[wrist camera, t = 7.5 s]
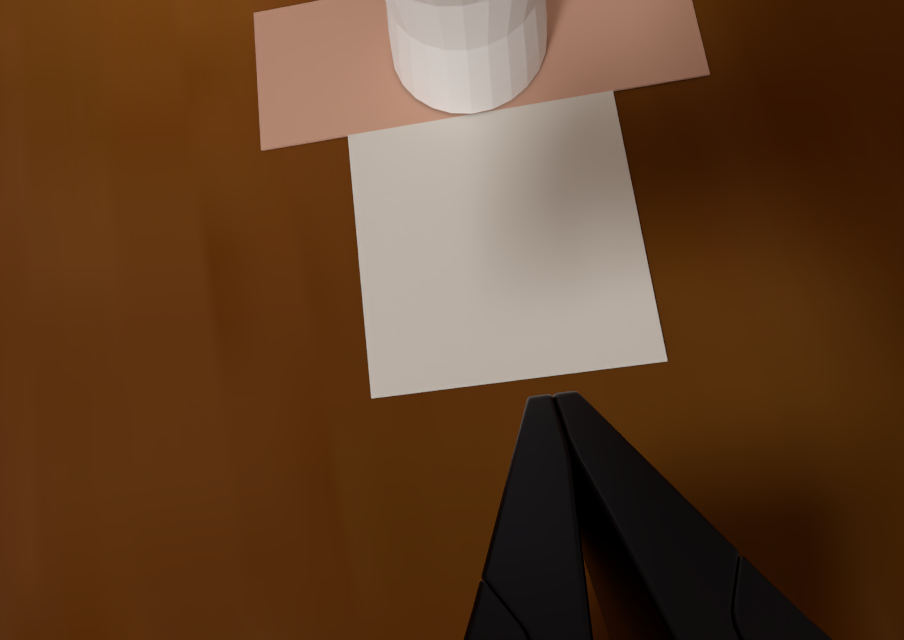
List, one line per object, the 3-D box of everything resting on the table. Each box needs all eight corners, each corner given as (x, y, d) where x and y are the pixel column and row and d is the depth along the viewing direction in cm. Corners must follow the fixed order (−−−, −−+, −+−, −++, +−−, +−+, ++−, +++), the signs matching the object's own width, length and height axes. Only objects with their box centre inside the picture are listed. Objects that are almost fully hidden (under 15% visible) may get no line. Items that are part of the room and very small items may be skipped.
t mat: (775, 347, 20) (777, 347, 20) (276, 410, 22) (275, 410, 21) (674, -66, 24) (675, -68, 23) (254, 14, 25) (253, 13, 25)
